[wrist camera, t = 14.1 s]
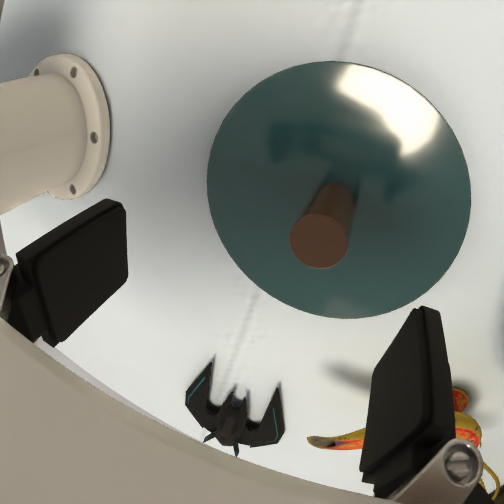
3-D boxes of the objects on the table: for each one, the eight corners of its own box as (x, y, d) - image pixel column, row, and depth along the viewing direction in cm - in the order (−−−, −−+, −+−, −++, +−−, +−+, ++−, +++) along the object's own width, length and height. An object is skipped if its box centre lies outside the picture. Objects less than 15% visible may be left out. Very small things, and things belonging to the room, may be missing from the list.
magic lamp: (348, 337, 21) (307, 481, 12) (520, 400, 18) (530, 512, 9) (313, 389, 25) (269, 505, 16) (472, 440, 22) (467, 540, 13)
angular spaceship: (186, 417, 36) (175, 434, 34) (190, 342, 28) (173, 364, 26) (270, 453, 34) (261, 473, 31) (308, 391, 25) (299, 418, 23)
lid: (203, 260, 23) (157, 307, 18) (237, 40, 15) (179, 27, 10) (402, 335, 20) (399, 402, 15) (501, 123, 12) (550, 141, 7)
